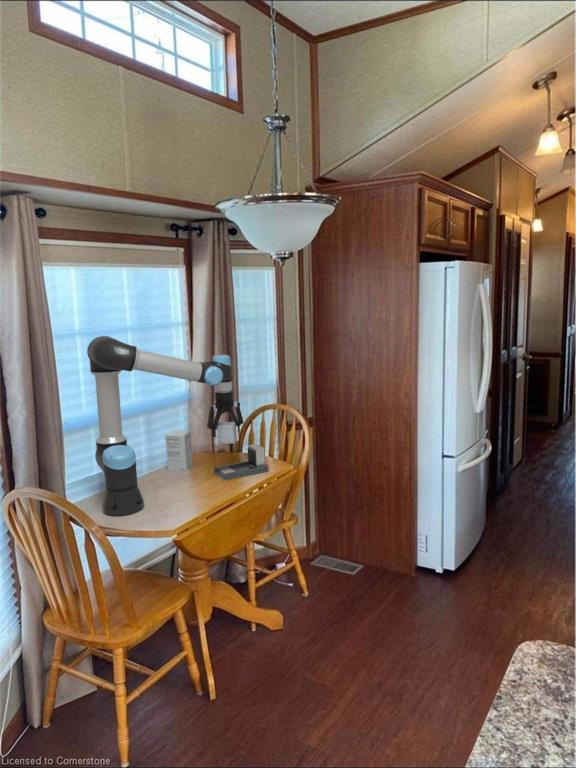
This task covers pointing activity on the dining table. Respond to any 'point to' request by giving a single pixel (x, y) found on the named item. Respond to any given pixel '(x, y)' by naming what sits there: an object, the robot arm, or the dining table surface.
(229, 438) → the medicine box
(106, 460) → the robot arm
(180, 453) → the supplement box
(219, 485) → the dining table surface
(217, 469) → the grey tray stand
